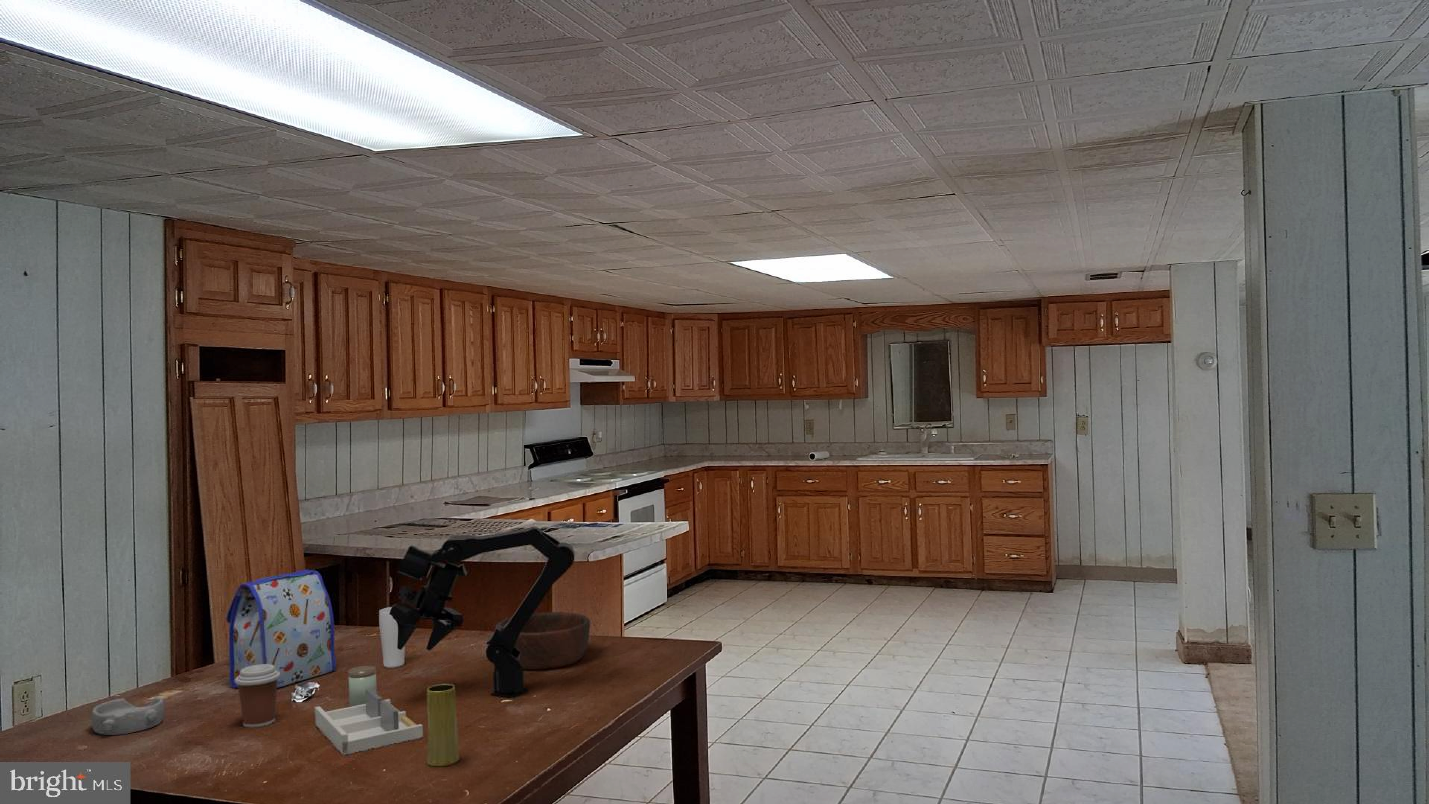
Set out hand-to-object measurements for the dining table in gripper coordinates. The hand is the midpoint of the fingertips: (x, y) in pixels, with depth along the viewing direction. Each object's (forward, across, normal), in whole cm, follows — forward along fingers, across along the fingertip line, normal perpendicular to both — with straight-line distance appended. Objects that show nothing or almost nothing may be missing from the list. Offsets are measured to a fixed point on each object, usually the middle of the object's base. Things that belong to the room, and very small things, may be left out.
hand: (413, 649), depth 228 cm
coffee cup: (+24, +23, -13) cm, 35 cm away
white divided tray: (+13, +17, +13) cm, 25 cm away
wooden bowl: (0, -41, +6) cm, 42 cm away
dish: (+36, +37, -36) cm, 62 cm away
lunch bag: (+26, -1, -39) cm, 46 cm away
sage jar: (+16, +4, -4) cm, 17 cm away
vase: (+6, +22, +39) cm, 46 cm away
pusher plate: (+12, +12, +8) cm, 19 cm away
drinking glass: (+15, -21, -24) cm, 36 cm away
